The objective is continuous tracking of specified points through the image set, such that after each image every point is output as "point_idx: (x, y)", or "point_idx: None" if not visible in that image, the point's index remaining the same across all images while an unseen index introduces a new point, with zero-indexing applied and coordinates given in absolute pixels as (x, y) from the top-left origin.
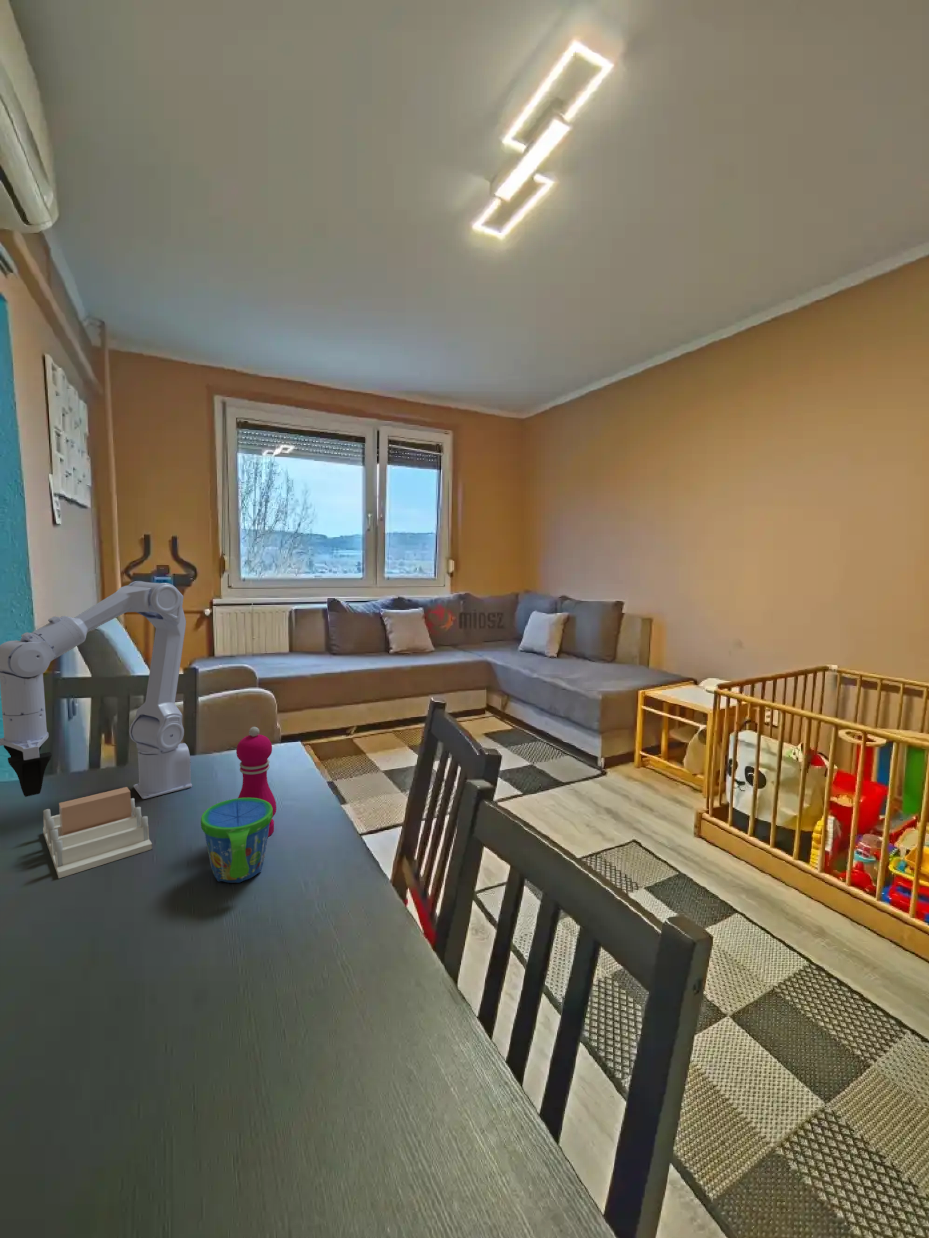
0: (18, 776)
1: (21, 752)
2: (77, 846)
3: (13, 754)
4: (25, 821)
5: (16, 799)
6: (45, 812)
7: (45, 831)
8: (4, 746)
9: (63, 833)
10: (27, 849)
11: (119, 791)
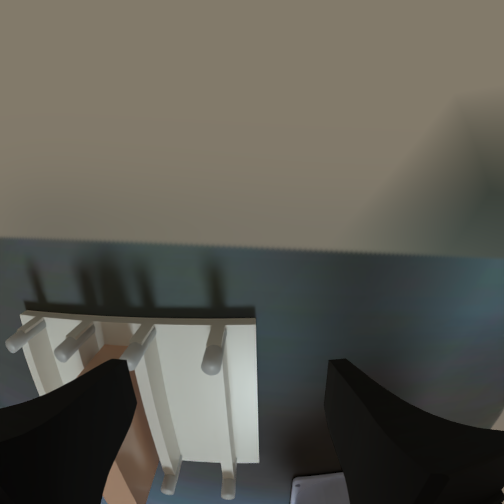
0: (25, 402)
1: (375, 490)
2: (28, 364)
3: (387, 457)
4: (367, 285)
5: (500, 270)
6: (202, 361)
7: (211, 329)
8: (446, 478)
9: (88, 363)
10: (177, 279)
11: (118, 499)
